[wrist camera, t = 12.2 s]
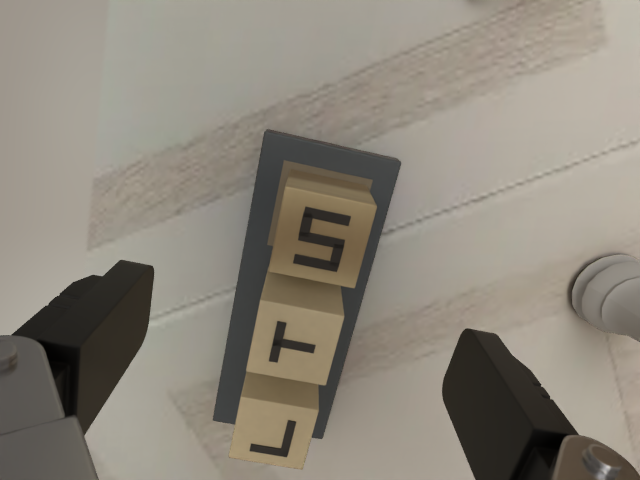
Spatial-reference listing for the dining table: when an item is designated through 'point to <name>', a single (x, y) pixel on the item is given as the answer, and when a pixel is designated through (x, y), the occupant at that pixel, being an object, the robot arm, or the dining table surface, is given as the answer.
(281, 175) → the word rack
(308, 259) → the letter S
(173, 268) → the dining table surface
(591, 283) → the rook chess piece
